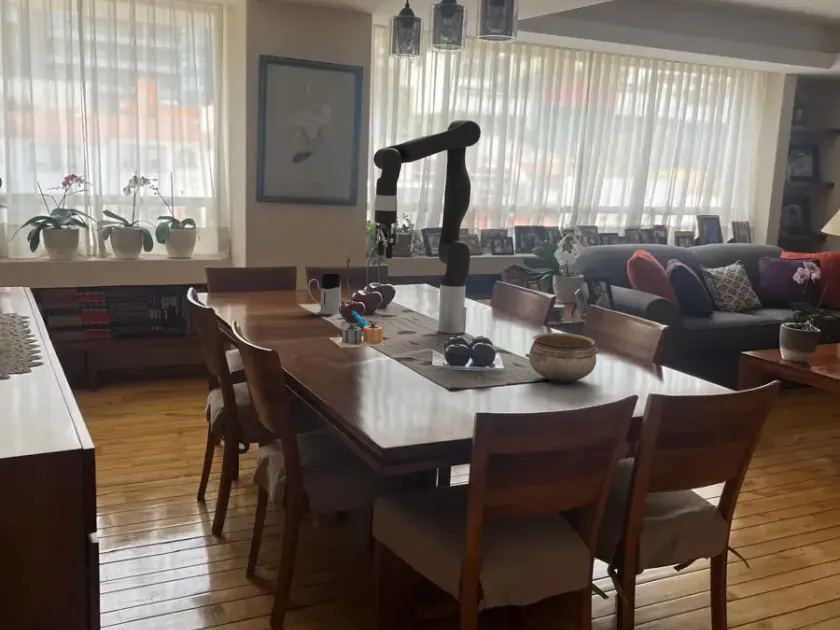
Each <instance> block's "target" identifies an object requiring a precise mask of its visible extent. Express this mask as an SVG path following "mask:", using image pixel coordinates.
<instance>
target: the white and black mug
mask: <svg viewBox="0 0 840 630" xmlns="http://www.w3.org/2000/svg"><path fill="white" fill-rule="evenodd" d="M313 281H315V282H317V283H316V284H317V288H318V290H320V302H319V301H317V300H316V299H315V298H314V297H313V295H312V293H311V288H310V287H311V286H310V285H311V282H313ZM341 287H342V283H341V274H339V273H322V274H321V286H320V282H319V281H318V280H317V279H315V278H312V279H310V280H309V282H308V287H307V290H308V293H309V295H310V297H311V298H312V300H314V301H315V303H317V304H318V305H319V306H320V309H319V313H320V314H323V315H339V314H340V313H339V306H340V307H341V301H342V300H341V298H342V297H341V293H342V290H341Z"/></svg>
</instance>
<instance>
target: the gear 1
mask: <svg viewBox="0 0 840 630" xmlns="http://www.w3.org/2000/svg"><path fill="white" fill-rule="evenodd" d="M362 336H363V327H362V326H359V327H355V329H354V330H353V329H350V326H344V327H342V328H341V337H342V342H343V343H349V344H355V343H356V344H358V343H360V342H362Z"/></svg>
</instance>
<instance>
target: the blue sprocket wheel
mask: <svg viewBox="0 0 840 630" xmlns="http://www.w3.org/2000/svg"><path fill="white" fill-rule="evenodd" d="M351 313H352V316H353V317H354V318H355V320H357V323H356V325H355V327H362V326H363V327H364V326H370V325H369V323H368V322H366V319H364V317H362V316H361V315H360V314H358V312H356V311H354V310H352V311H351ZM363 327H362V328H363Z"/></svg>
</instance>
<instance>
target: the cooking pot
mask: <svg viewBox="0 0 840 630" xmlns="http://www.w3.org/2000/svg"><path fill="white" fill-rule="evenodd" d="M532 339H533V340H534V341H533V343H532V345H531V347H530V350H529V353H525V355H524V356H525V357H526V358H528V360H529V362H530V363H529V364H530V366H531V367H532V369H533V370H534V371H535V372H536V373H538V374H539V375H540V376H542V377H543V378H545V379H547V380H548V381H549V382H550V383H553V384H557V385H570V384H572V383H575V382H577V381H580V380H582V379H584V378H585V377H587V376H589V375H590V374H591V373H592V372H593V370H594V369H595V367H596V365H597V354H598V353H599V348H598V347H594V345H595V344H596V341H595V340H594V339H593V338H590V337H587V336H584V335H580V334H573V333H567V332H566V333H564V332H545V333H538V334H535V335H533V336H532Z"/></svg>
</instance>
